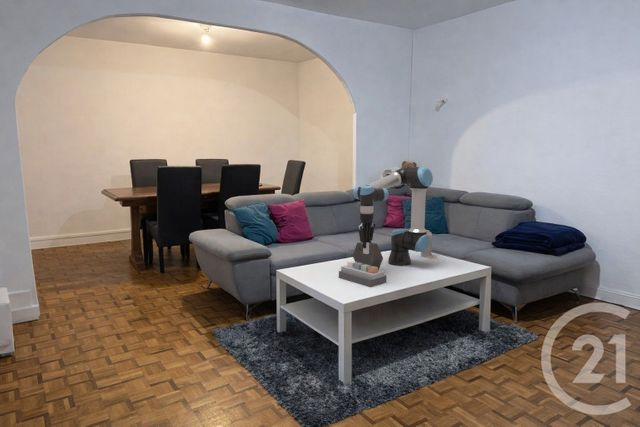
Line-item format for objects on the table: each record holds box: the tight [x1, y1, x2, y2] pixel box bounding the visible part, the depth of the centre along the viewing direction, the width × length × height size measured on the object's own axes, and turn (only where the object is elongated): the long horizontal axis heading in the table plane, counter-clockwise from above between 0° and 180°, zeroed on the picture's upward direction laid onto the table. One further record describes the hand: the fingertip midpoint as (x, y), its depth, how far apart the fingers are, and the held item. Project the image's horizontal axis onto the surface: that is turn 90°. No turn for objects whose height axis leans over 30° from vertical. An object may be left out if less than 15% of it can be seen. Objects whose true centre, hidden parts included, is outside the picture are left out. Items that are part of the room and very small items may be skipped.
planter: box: [352, 241, 384, 271], centre depth 284 cm, size 17×8×21 cm
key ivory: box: [346, 260, 357, 268], centre depth 270 cm, size 4×4×3 cm
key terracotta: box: [368, 266, 378, 274], centre depth 258 cm, size 4×4×3 cm
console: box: [338, 264, 387, 288], centre depth 264 cm, size 14×25×6 cm, turn 42°
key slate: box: [354, 263, 364, 270], centre depth 266 cm, size 4×4×3 cm
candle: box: [420, 228, 438, 259], centre depth 320 cm, size 7×14×20 cm, turn 42°
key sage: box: [361, 264, 371, 272], centre depth 262 cm, size 4×4×3 cm
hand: (366, 253), depth 260 cm, fingers closed
